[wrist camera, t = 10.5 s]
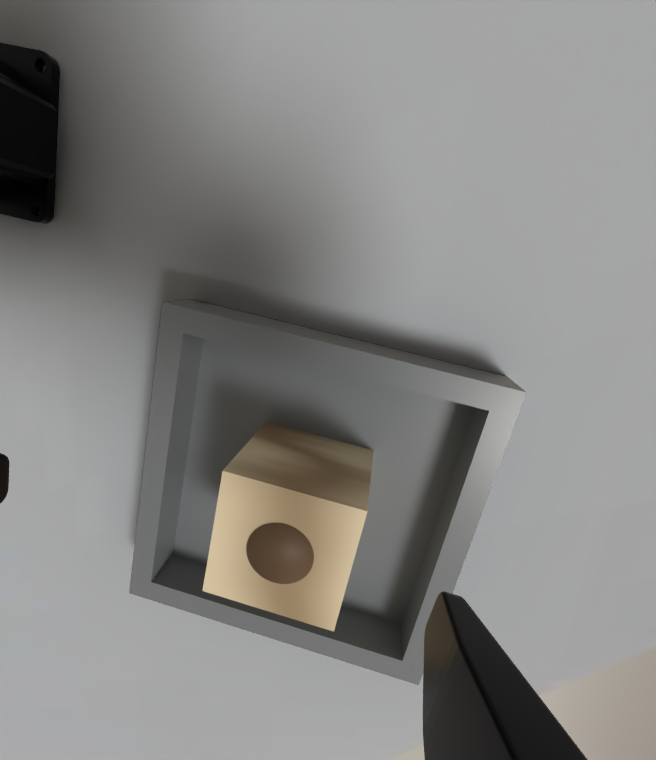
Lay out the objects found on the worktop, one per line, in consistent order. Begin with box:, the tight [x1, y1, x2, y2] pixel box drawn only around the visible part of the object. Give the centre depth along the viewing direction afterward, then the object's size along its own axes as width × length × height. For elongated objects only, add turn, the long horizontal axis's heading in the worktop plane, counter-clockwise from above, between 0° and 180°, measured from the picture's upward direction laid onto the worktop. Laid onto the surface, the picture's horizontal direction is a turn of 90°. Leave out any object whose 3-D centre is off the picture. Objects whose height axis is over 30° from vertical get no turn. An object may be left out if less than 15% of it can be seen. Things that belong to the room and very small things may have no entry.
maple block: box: [202, 422, 374, 632], centre depth 17 cm, size 5×5×5 cm
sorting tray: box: [129, 299, 526, 685], centre depth 18 cm, size 14×14×2 cm
